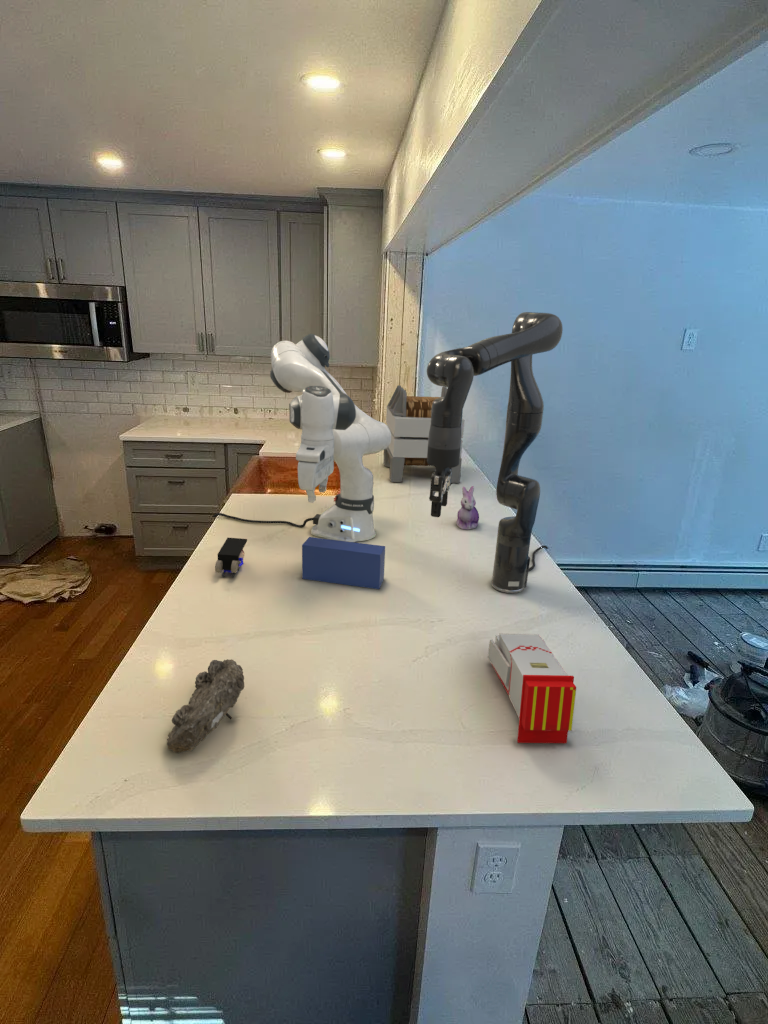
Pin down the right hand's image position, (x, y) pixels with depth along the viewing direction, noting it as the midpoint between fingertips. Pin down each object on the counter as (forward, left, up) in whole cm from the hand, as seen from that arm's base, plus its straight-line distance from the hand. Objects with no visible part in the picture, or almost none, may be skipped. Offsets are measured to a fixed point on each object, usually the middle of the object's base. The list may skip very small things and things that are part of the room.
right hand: (438, 510), depth 136 cm
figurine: (-52, -48, -30) cm, 77 cm away
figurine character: (+35, -51, -30) cm, 68 cm away
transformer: (-77, -114, -30) cm, 141 cm away
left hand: (+15, -36, -5) cm, 39 cm away
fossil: (+59, +9, -30) cm, 66 cm away
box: (+9, -30, -30) cm, 43 cm away
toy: (+1, +34, -30) cm, 45 cm away
